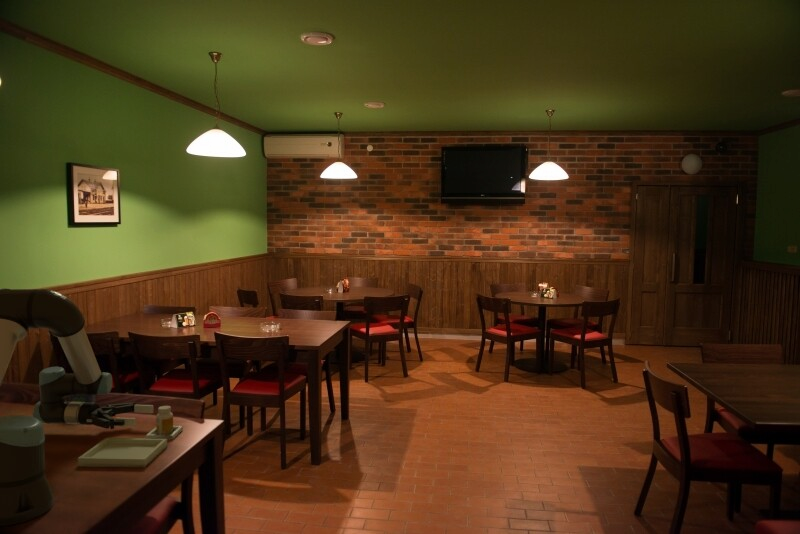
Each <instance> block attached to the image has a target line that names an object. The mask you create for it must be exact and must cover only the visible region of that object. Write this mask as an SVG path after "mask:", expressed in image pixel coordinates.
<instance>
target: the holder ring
mask: <svg viewBox="0 0 800 534" xmlns="http://www.w3.org/2000/svg"><path fill="white" fill-rule="evenodd" d="M182 430H184V426H183V425H173V433H172V434H156V426H155V427H154V428H153V429H152V430H150V431H149V432H148V433H147V434H146V435H145V439H167V441H173V440H175V438H176V437H177V436H179V435H180V432H181V431H182ZM182 432H183V431H182ZM182 432H181V433H182Z"/></svg>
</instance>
